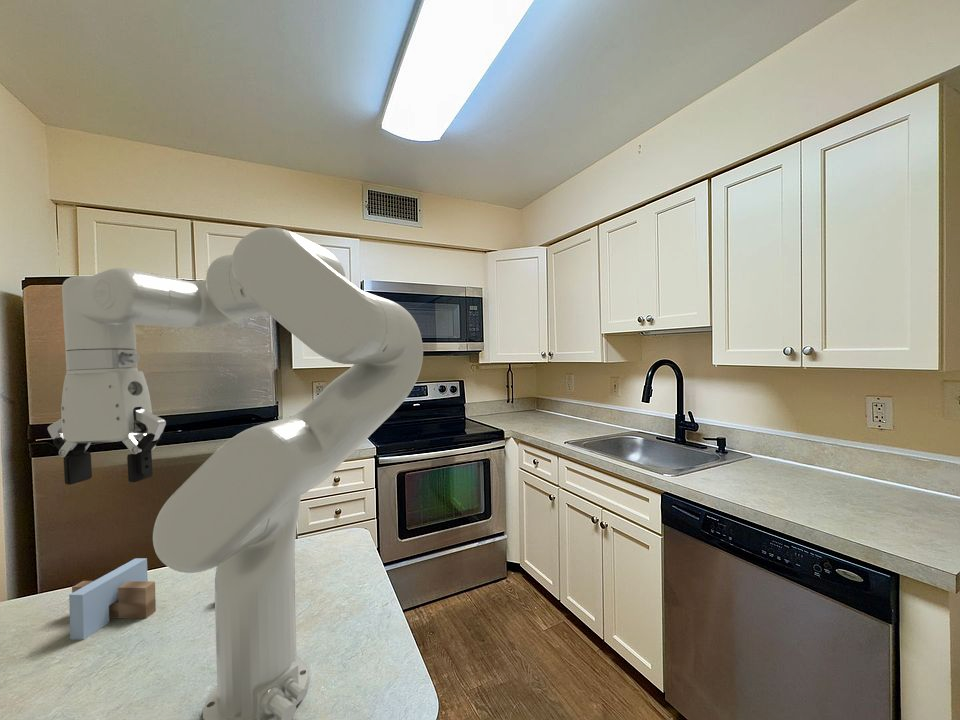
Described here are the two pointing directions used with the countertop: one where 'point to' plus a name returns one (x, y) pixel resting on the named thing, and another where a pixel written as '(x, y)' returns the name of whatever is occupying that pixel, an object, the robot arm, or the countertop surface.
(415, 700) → the countertop surface
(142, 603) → the walnut slot plate
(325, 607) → the countertop surface
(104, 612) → the blue slot plate
